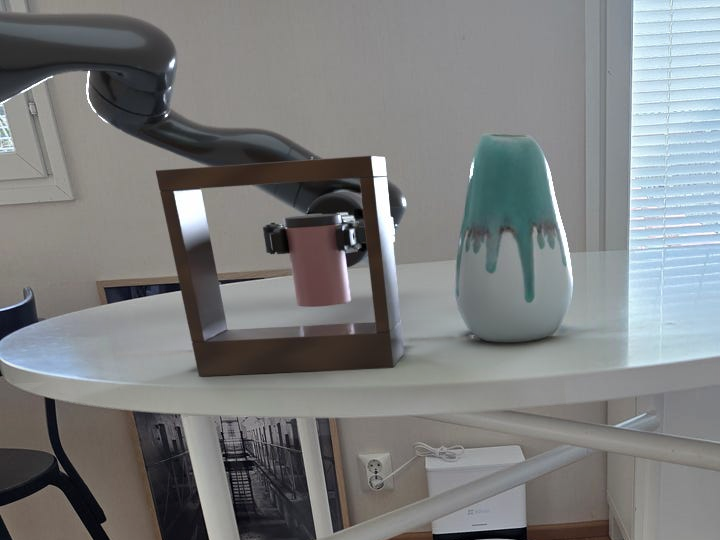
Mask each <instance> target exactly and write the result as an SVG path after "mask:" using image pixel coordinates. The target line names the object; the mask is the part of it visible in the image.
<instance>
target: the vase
mask: <svg viewBox="0 0 720 540" xmlns="http://www.w3.org/2000/svg"><path fill="white" fill-rule="evenodd" d="M468 172H469V173H468V178H467V180H468V181H467V187H466V193H465V194H466V195H465V201H464V210H463V216H462V221H461V226H460V231H459V236H458V242H457V249H456V255H455V267H454V287H453V288H454V289H453V290H454V299H455V304H456V307H457V311H458V313H459V316H460V318H461V320H462V322H463V324H464V325H465V326H466V328H467V329H468V330H469V331H470V332H471V334H473V335H474V336H475V337H476V338H478V339H480V340H483V341H487V342H491V343H524V342H532V341H536V340H537V341H538V340H541V339H543V338H547V337H549V336H550V335H552V334H554V333H555V332H556V331H557V330H558V329H559V328H560V327H561V325H562V324H563V323H564V321H565V319H566V317H567V315H568V313H569V310H570V307H571V304H572V297H573V291H574V286H573V285H574V279H573V270H572V269H573V268H572V262H571V257H570V252H569V251H570V250H569V245H568V241H567V237H566V232H565V229H564V226H563V222H562V219H561V215H560V211H559V207H558V203H557V199H556V195H555V190H554V185H553V181H552V175H551V171H550V167H549V164H548V160H547V159H546V156H545V153H544V151H543V149H542V148H541V146H540V145H539V144H538V142H537V141H536V140H535V138H534V137H532V135H530V134H523V133H522V134H521V133H501V132H499V133H497V132H494V133H493V132H492V133H490V132H489V133H481V135H480V137H479V140H478V141H477V144H476V146H475V149H474V152H473V154H472V158H471V163H470V166H469V171H468Z"/></svg>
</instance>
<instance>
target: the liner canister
mask: <svg viewBox="0 0 720 540" xmlns="http://www.w3.org/2000/svg"><path fill="white" fill-rule="evenodd" d="M341 223H342V220H341V214H321V215H307V216H305V215H296V216H295V215H294V216H288V217H283V224H284V225H285V227H286V235H287V241H288V248H289V254H288V255H289V261H290V267H291V273H292V280H293V281H292V282H293V286H294V294H295V300H296V305H297V306H299V307H305V308H315V307H316V308H317V307H328V306H329V307H330V306H336V305H342V304H343V305H344V304H347V303H350V302H351V301H352V298H351V289H350V281H349V280H350V279H349V273H348V268H347V264H346V256H345V250H344V251H339V250H338V246H337V238H336V230H335V228H336V226H337V225H341Z"/></svg>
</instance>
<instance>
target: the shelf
mask: <svg viewBox="0 0 720 540" xmlns="http://www.w3.org/2000/svg"><path fill="white" fill-rule="evenodd" d="M155 175H156V180H157V185H158V189H159V193H160V198H161V203H162V208H163V213H164V217H165V222H166V227H167V231H168V236H169V242H170V245H171V251H172V255H173V259H174V264H175V269H176V274H177V279H178V283H179V288H180V294H181V297H182V302H183V307H184V311H185V312H184V313H185V316H186V321H187V325H188V326H187V327H188V330H189V335H190V341H191V346H192V350H193V355H194V359H195V364H196V370H197V375H198V377H219V376H221V377H222V376H237V375H238V376H239V375H241V376H242V375H260V374H261V375H262V374H263V375H264V374H281V373H282V374H284V373H285V374H286V373H303V372H304V373H305V372H323V371H324V372H325V371H346V370H347V371H348V370H365V369H366V370H368V369H369V370H371V369H386V368H387V369H388V368H389V369H390V368H391V369H392V368H394V367H395V366H396V364H397V363H398V362H399V360H400V359H401V358H402V356H403V355H404V354H405V349H404V341H403V340H404V339H403V331H402V322H401V321H402V319H401V311H400V310H401V309H400V298H399V289H398V288H399V287H398V278H397V270H396V260H395V259H396V257H395V248H394V247H395V246H394V243H393V237H392V226H391V216H390V206H389V196H388V185H387V180H388V177H387V166H386V157H385V156H384V155H383V156H380V155H360V156H345V157H331V158H323V159H314V160H300V161H285V162H271V163H256V164H242V165H227V166H213V167H209V166H200V167H199V166H198V167H186V168H171V169H158V170H157V169H156V170H155ZM352 178H360V188H361V197H362V206H363V215H364V224H365V233H366V242H367V251H368V260H369V265H368V269H369V276H370V286H371V287H370V288H371V295H372V305H373V313H374V314H373V315H374V322H355V323H354V322H352V323H335V324H334V323H333V324H315V325H313V324H311V325H296V326H294V325H293V326H292V325H291V326H276V327H258V328H257V327H256V328H237V329H234V328H233V329H228V324H227V318H226V314H225V309H224V303H223V297H222V292H221V286H220V282H219V277H218V276H219V275H218V271H217V266H216V261H215V256H214V255H215V254H214V251H213V246H212V245H213V244H212V240H211V235H210V229H209V224H208V219H207V214H206V208H205V202H204V199H203V193H202V189H214V188H215V189H216V188H229V187H230V188H231V187H247V186H252V185H262V184H277V183H292V182H307V181H322V180H337V179H352Z"/></svg>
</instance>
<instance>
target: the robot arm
mask: <svg viewBox="0 0 720 540" xmlns="http://www.w3.org/2000/svg"><path fill="white" fill-rule="evenodd" d="M177 68H178V52H177V47H176V45H175V43H174V40H172V38H171V37H170V36H169V34H167V32H166V31H164V30H163V29H162V28H160V27H159V26H157V25H155V24H154V23H152V22H150V21H147V20H145V19H142V18H140V17H136V16H132V15H129V14H128V15H127V14H121V13H110V12H66V13H65V12H57V13H55V12H54V13H53V12H50V13H49V12H47V13H46V12H45V13H44V12H42V13H41V12H23V11H22V12H21V11H8V10H0V104H3V103H5V102H7V101H9V100H11V99H13V98H15V97H16V96H19V95H21V94H22V93H24V92H26V91H28V90H30V89H31V88H33V87H35V86H37V85H39V84H40V83H42V82H44V81H46V80H48V79H51V78H53V77H56V76H59V75H63V74H67V73H76V72H88V73H87V83H86V95H87V100H88V103H89V104H90V106H91V108H92V110H93V111H94V113H96V114H97V116H98V117H99V118H101V119H102V120H103V121H104V122H105V123H107V124H109V125H110V126H112V127H113V128H115V129H117V130H118V131H120V132H122V133H124V134H126V135H128V136H131V137H133V138H135V139H137V140H139V141H143V142H145V143H148V144H150V145H152V146H155V147H157V148H160V149H163V150H165V151H167V152H171V153H172V154H175V155H177V156H180V157H182V158H186V159H187V160H190V161H193V162H196V163H198V164H201V165H204V166H205V167H213V166H227V165H242V164H256V163H271V162H285V161H300V160H314V159H324V157H321V156H320V155H317V154H316V153H315V152H313V151H311V150H310V149H308V148H306V147H305V146H303V145H301V144H300V143H298V142H296V141H294V140H293V139H291V138H289V137H288V136H286V135H284V134H282V133H279V132H277V131H274V130H271V129H266V128H261V127H227V126H225V127H224V126H214V125H207V124H203V123H200V122H197V121H194V120H192V119H190V118H188V117H186V116H184V115H182V114H181V113H179V112H178V111H176V110H175V109H173V108H172V107H171V101H172V96H173V91H174V85H175V82H176V75H177ZM387 185H388V196H389V206H390V216H391V226H392V237H393V244H394V243H396V234H397V231H398V230H399V228H400V225H401V223H402V220H403V219H404V217H405V214H406V212H407V208H408V206H407V205H408V204H407V199H406V195H405V194H404V192H403V191H402V189H401V188H400V187H399V186H398V185H397V184H396V183H394V182H393V181H391V180H388V179H387ZM251 186H252V187H254V188H256V189H258V190H259V191H261V192H263V193H265V194H267V195H269V196H270V197H272V198H274V199H275V200H277V201H279V202H281V203H283V204H284V205H285V206H287V207H289V208H291V209H294V210H295V211H296V212H298V213H301V214H302V215H303V216H307V215H321V214H341V220H342V223H341V225H337V226H336V228H335V230H336V238H337V246H338V250H339V251H344V250H345V256H346V264H347V269H348V268H351V267H353V266H355V265H357V264H359V263H361V264H364V265H367V266H369V260H368V251H367V242H366V233H365V224H364V215H363V206H362V197H361V188H360V178H352V179H337V180H322V181H307V182H292V183H277V184H262V185H251ZM262 232H263V239H264V246H265V251H266V252H265V253H266V254H270V255H276V254H277V255H290V254H289V248H288V241H287V235H286V227H285V225H284V223H280V224H279V223H276V222H270V223H269V224H268V223H267V224H265V225H264V226H262Z"/></svg>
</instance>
